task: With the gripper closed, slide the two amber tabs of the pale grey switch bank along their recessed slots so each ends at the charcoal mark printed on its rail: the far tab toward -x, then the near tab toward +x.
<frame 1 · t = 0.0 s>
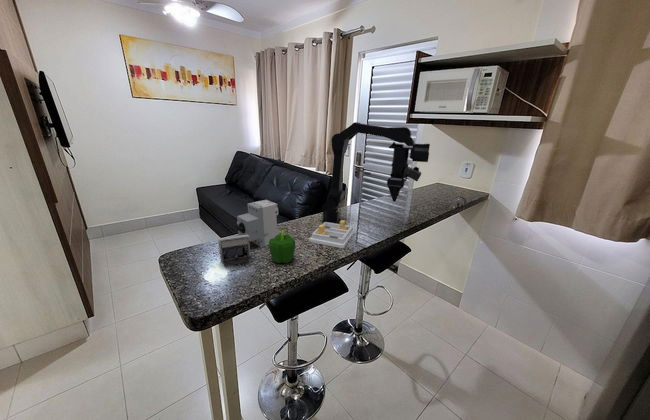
hand: (395, 198, 104), 15 cm above the table, fingers open, 9 cm apart
electrical switch: (237, 262, 82), on the table
bell pepper: (283, 260, 84), on the table
switch bank: (333, 236, 102), on the table
far tab: (342, 226, 103), point 4 cm above the table, slide at 6.0 cm
near tab: (321, 230, 98), point 4 cm above the table, slide at 0.0 cm
circuit breaker: (258, 243, 95), on the table
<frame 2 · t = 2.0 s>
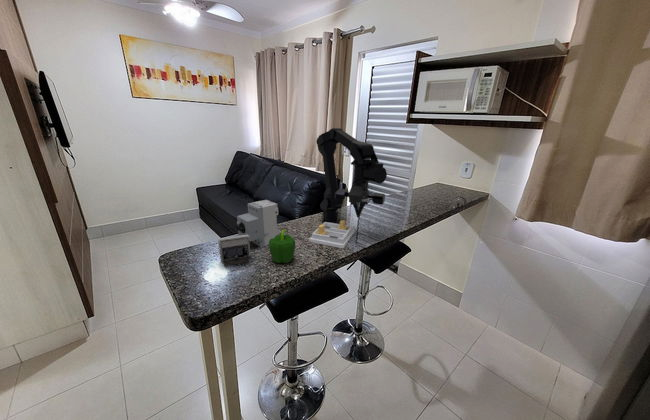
hand: (358, 217, 100), 9 cm above the table, fingers closed
nothing on the table moved.
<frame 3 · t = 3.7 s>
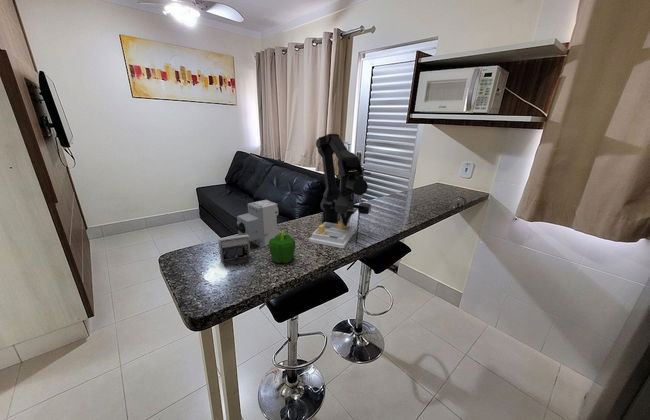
hand: (345, 225, 103), 4 cm above the table, fingers closed
far tab: (340, 226, 103), point 4 cm above the table, slide at 5.3 cm, touching gripper
everything else where it was.
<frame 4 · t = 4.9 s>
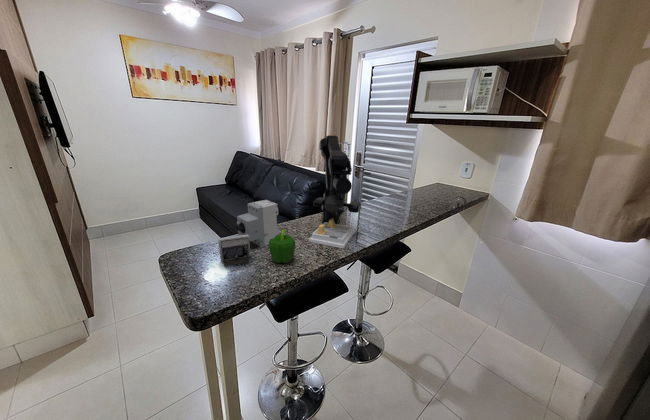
hand: (336, 224, 104), 4 cm above the table, fingers closed
far tab: (331, 224, 105), point 4 cm above the table, slide at 1.4 cm, touching gripper
everything else where it was.
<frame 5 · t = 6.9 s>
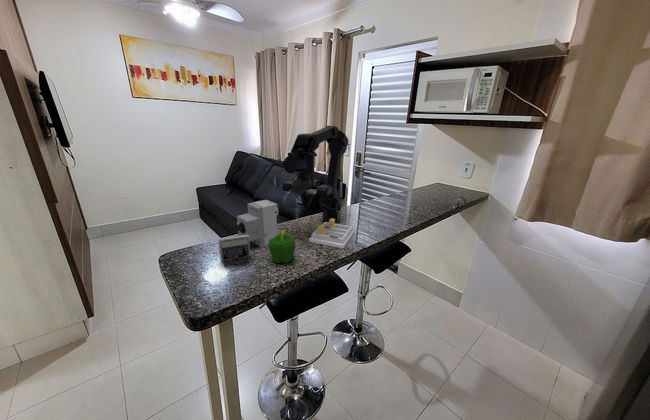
hand: (306, 209, 98), 11 cm above the table, fingers closed
far tab: (331, 224, 105), point 4 cm above the table, slide at 1.4 cm
everything else where it was.
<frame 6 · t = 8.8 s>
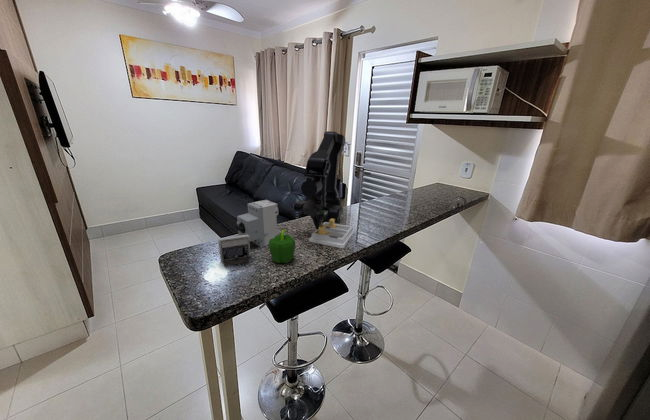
hand: (317, 229, 99), 4 cm above the table, fingers closed
near tab: (322, 231, 98), point 4 cm above the table, slide at 0.3 cm, touching gripper
everything else where it was.
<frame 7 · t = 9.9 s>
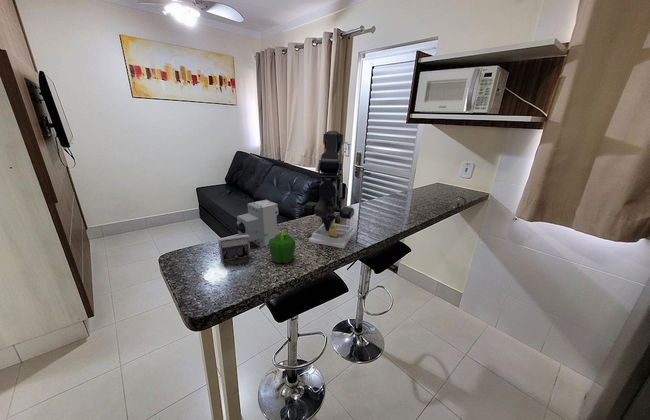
hand: (327, 230, 97), 4 cm above the table, fingers closed
near tab: (332, 232, 97), point 4 cm above the table, slide at 4.6 cm, touching gripper
everything else where it was.
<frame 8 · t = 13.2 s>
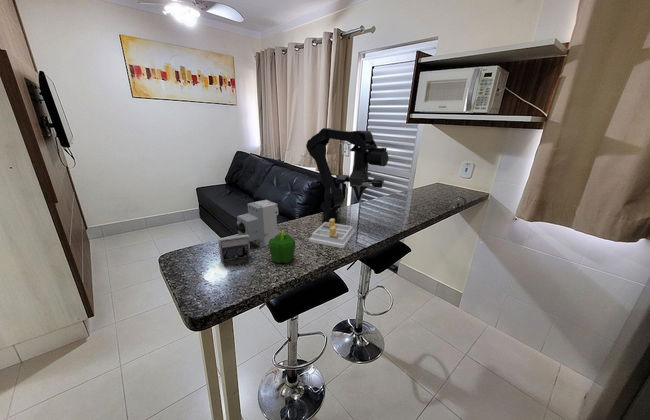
hand: (358, 201, 105), 13 cm above the table, fingers closed
near tab: (332, 232, 97), point 4 cm above the table, slide at 4.6 cm
everything else where it was.
at the end: far tab slide at 1.4 cm; near tab slide at 4.6 cm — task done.
